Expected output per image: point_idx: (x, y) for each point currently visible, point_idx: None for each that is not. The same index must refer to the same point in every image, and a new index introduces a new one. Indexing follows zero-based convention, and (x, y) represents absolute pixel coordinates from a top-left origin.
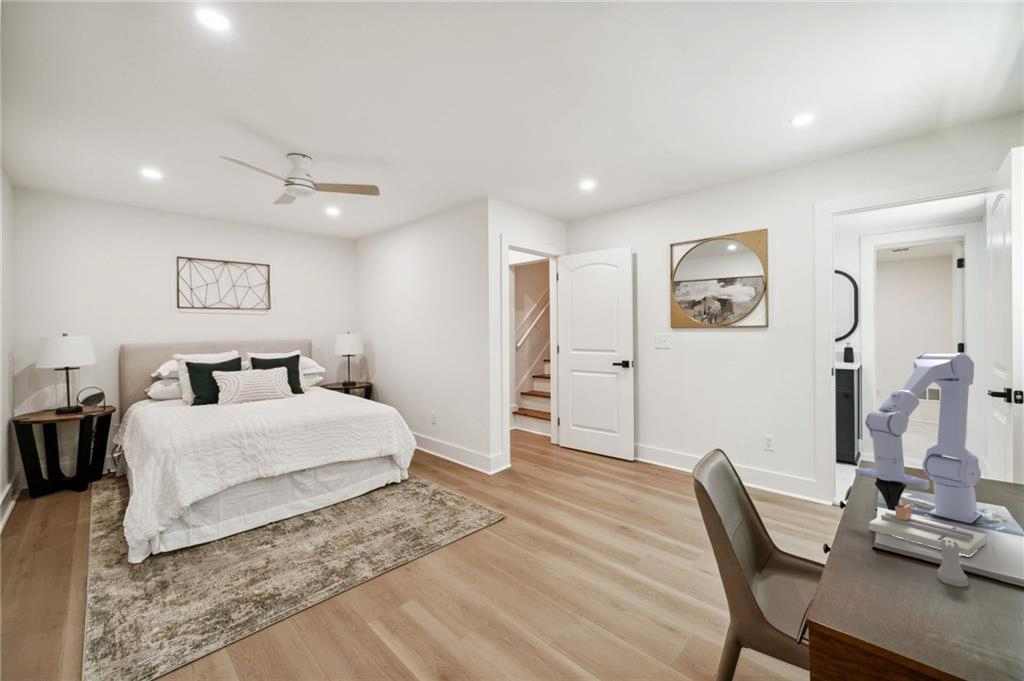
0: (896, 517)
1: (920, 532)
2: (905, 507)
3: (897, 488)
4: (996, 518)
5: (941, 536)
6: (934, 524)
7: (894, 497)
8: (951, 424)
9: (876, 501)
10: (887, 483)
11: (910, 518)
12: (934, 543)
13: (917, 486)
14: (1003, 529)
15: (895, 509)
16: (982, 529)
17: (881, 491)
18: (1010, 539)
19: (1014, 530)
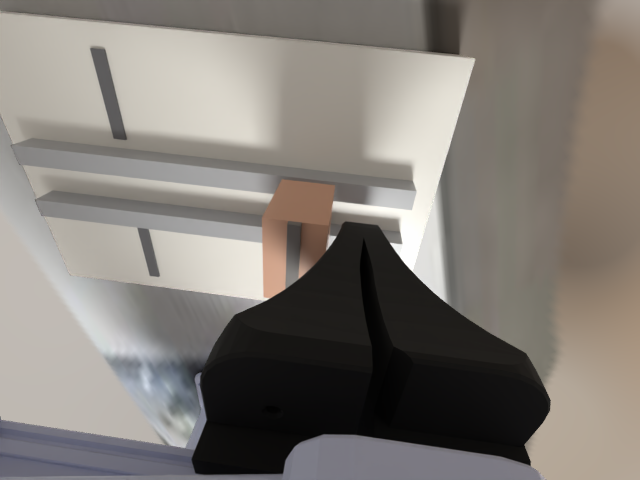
0: (332, 187)
1: (205, 106)
2: (269, 243)
3: (231, 330)
4: (182, 426)
5: (119, 117)
6: (183, 228)
7: (317, 269)
8: None
9: None
10: (381, 426)
11: None
12: (122, 23)
13: (40, 433)
14: (136, 374)
15: (329, 213)
16: (162, 350)
17: (436, 303)
18: (87, 320)
19: (121, 380)
